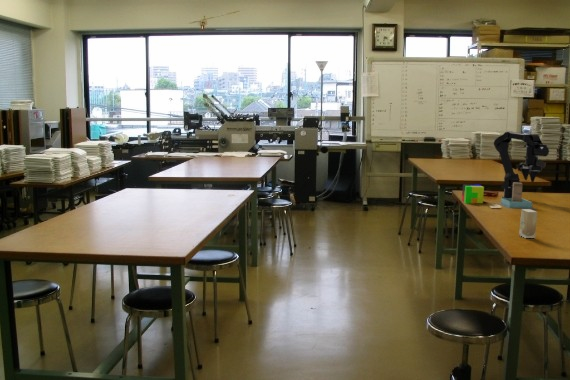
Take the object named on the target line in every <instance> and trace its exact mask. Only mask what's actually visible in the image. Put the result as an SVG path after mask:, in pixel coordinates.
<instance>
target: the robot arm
mask: <svg viewBox="0 0 570 380" xmlns="http://www.w3.org/2000/svg"><path fill="white" fill-rule="evenodd" d="M512 139H514V140H517V141H523V143H525V144H524V145H523V148H526V150H525V156H524V159H525V162H520V163H518V167H519V169H520V172H521V173H522V176H523V179H524V180H525V181H527V180H528V177H529V178H530V181H531V183H534V181H535V179H536V177H537V175H538V174H539V173H540V172H541V171H542V170H543V169H544V168H545V167H546V164H547V162H545V161H543V160H542V159H540V158H539V157H547V156H548V155H549V153H550V150H549V149H550V148H549V147H548V144H543V142H542V140H541V138H540V136H539V134H537V133H520V132H514V131H505V132H504V133H502V134H501V135H500V136H498V137H497V138H496V139H494V141H493V146H494V148H495V150H496V151H497V152H498V153H499V156H500V159H501V160H500V161H501V164H502V166H503V170H504V178H503V180H504V181H503V182H502V183H501V185H500V187H501V189H502V190H503V196H501V198H512V189H513V182H517V183H521V182H520V181H521V179H520V177H519V174H518V173H515V171H514V168H513V164H512V162H511V159H510V158H511V157H510V155H509V148H510V145H509V144H510V143H511V142H512ZM538 156H539V157H538Z"/></svg>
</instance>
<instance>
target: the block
mask: <svg viewBox="0 0 570 380" xmlns="http://www.w3.org/2000/svg"><path fill="white" fill-rule="evenodd" d="M523 184H524V183H522V182H520V183H517V182H513V189H512V202H521V199H523V197H522V195H523Z"/></svg>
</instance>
